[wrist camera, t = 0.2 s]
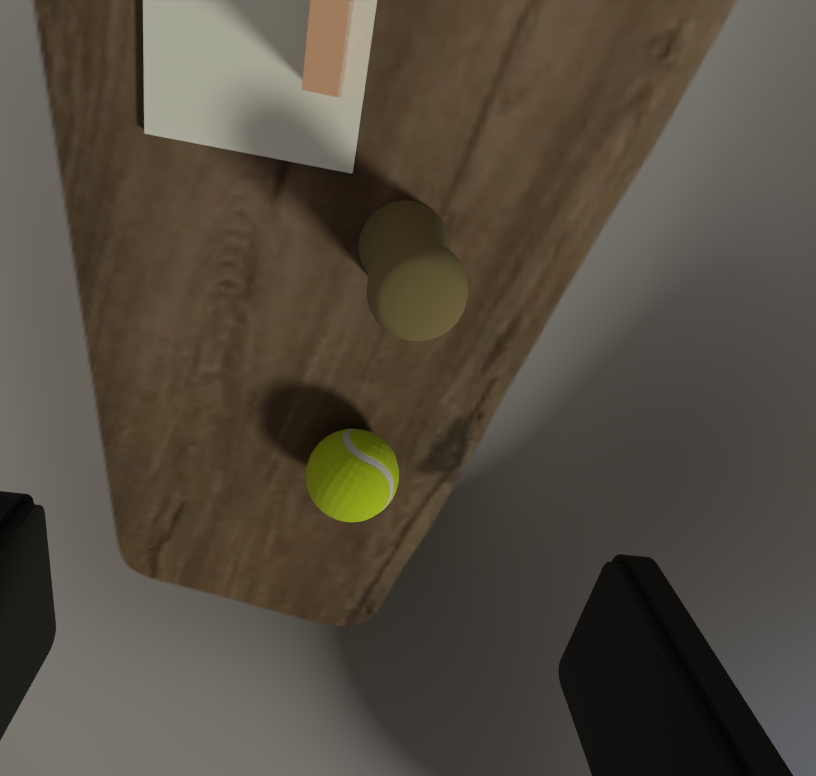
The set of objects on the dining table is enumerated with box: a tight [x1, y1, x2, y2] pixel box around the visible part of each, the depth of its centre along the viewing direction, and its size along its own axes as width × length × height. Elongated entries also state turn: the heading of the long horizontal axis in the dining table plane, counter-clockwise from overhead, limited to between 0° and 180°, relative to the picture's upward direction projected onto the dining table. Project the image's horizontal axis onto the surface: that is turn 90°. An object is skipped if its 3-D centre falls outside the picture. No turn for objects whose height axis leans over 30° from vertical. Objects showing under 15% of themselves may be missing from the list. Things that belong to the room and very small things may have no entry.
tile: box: [302, 0, 354, 97], centre depth 27 cm, size 8×2×8 cm, turn 169°
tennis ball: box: [306, 429, 399, 522], centre depth 41 cm, size 7×7×7 cm
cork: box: [358, 200, 468, 342], centre depth 33 cm, size 6×6×11 cm
